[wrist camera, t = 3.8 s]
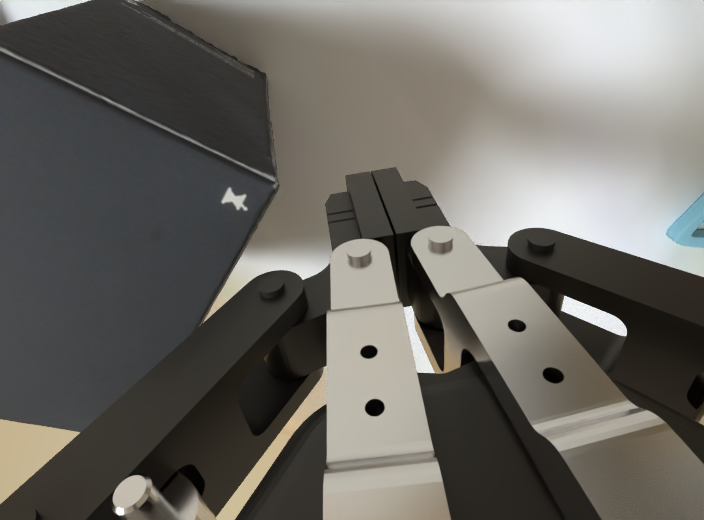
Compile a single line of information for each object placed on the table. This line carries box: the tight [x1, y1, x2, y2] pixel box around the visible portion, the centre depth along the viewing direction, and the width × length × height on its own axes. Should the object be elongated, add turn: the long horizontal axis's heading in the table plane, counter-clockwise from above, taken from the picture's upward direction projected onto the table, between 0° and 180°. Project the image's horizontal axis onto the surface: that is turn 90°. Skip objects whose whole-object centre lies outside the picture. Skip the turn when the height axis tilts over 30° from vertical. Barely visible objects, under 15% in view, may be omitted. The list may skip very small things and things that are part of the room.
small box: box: [0, 0, 279, 432], centre depth 15 cm, size 11×6×10 cm, turn 148°
